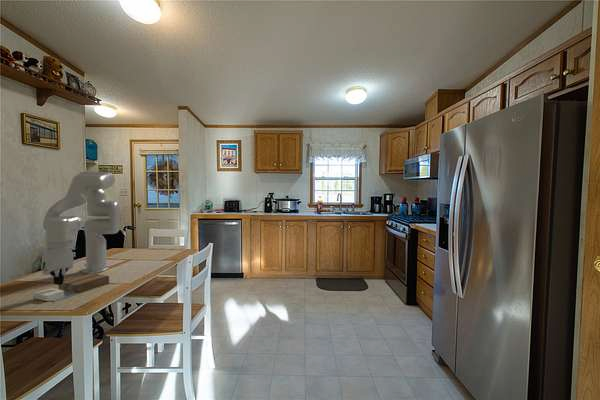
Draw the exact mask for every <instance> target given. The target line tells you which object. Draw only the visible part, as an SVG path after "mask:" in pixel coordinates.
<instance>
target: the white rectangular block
mask: <svg viewBox="0 0 600 400" xmlns="http://www.w3.org/2000/svg"><path fill="white" fill-rule="evenodd" d="M58 289H59V288H52V287H50V288H47V289H44V290H40V291H37V292H34V295H33V296H34V297H33V298H34V299H35V300H41V301H45V302H51V301H50V300H53V299H56V298H59V297H62V296H64V291H63V290H58Z"/></svg>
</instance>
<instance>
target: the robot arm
mask: <svg viewBox="0 0 600 400" xmlns="http://www.w3.org/2000/svg"><path fill="white" fill-rule="evenodd" d="M115 178H116V177H115V175H114V173H112V172H109V171H90V170H89V171H80V172H79V173H78V174H77V175H74V177H73V178H72V180H71V183H70V184H69V187H68V191H67V193H66V195H65V197H64V198H61V199H60V200H58V201H56V203H54V204H52V205H51V206H50V207H49V209H48V210H47V211H46V214H45V216H44V219H43V223H42V228H43V229H44V230H45V231H46V233H45V234H46V248H44V249H43V252H42V256H41V265H40V267H41V271H42V275H45V276H47V275H50V276H52V277H53V284H54V285H56V286H59V285H60V284H63V281H64V280H65V279H64V276H65V275H66V273H67V272H68V271H70V270H72V269H73V268H74V266H73V265H74V253H73V249H72V246H71V244H72V243H73V240H70V232H77V231H80V230H81V229H82V228H83V231H84V236H85V263H84V264H83V266H84V267H85V268H84V269H83V270H82V274H89V273H94V274H99V273H103V272H106V271H108V270H109V269H110V266H109V265H107V239H106V238H105V237H104V236H103V235H114V234H118V232H119V231H120V229H121V206H120V203H119V202H118V201H115V200H106V191H105V190H106V189H108V188H111V187H112V186H114V184H115V181H116V179H115ZM85 204H86V211H87V214H88V215H89V216H90V217H109V218H89V219H87V220H85V221H84V219H83V218H81V217H80V216H76V215H75V216H73V215H68V216H67V215H61V214H62V213H64V212H66V211H68V210H71V209H73V208H77V207H79V206H82V205H85ZM60 215H61V216H60Z"/></svg>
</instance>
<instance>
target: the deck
mask: <svg viewBox="0 0 600 400" xmlns="http://www.w3.org/2000/svg"><path fill="white" fill-rule="evenodd" d="M108 284H110V275H106V274H99V273H84V274H82V275H78V276H75V277H71V278H66V279H64V281H63V284H60V285H58V289H61V290H65V291H70V292H74V293H78V294H77V295H79V294H82V293H85V292H87V291H91V290H93V289H97V288H100V287H103V286H106V285H108Z"/></svg>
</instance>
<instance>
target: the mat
mask: <svg viewBox="0 0 600 400" xmlns="http://www.w3.org/2000/svg"><path fill="white" fill-rule="evenodd" d="M57 289H58V290H61V289H59V288H57ZM63 291H64V296H62V297H59V298H56V299H53V300H50V301H49V302H52V303H53V302H54V303H55V302H58V301H61V300H65V299H68V298H70V297H74V296H77V295H79V294H78V293H74V292H70V291H65V290H63ZM33 298H34V295H33Z"/></svg>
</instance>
